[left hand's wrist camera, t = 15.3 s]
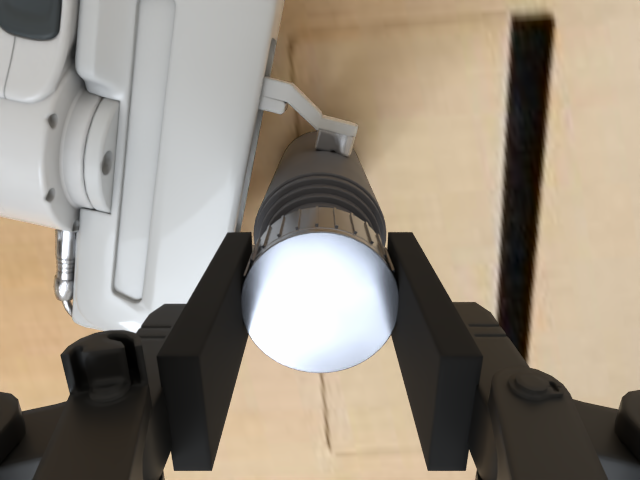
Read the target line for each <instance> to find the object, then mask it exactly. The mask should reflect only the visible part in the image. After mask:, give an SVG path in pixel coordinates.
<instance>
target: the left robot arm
mask: <svg viewBox="0 0 640 480" xmlns="http://www.w3.org/2000/svg"><path fill="white" fill-rule="evenodd" d="M387 251H388V253H389V256H390V258H391V261H392V264H393V266H394V269H395V272H394V275H395V278H396V281H397V284H398V288H399V297H398V312H397V322H396V326H395V328H394V330H393V332H392V334H391V336H392V340H393V343H394V347H395V351H396V354H397V358H398V362H399V366H400V369H401V373H402V377H403V380H404V384H405V388H406V391H407V395H408V399H409V403H410V406H411V410H412V414H413V417H414V421H415V425H416V428H417V432H418V436H419V440H420V443H421V447H422V451H423V454H424V458H425V462H426V465H427V469H428V471H466V465H467V459H468V452H469V450H470V452H471V455H472V458H473V460H474V463H475V465H476V468H477V472H476V478H475V480H640V390H636V391H631V392H628V393H627V394H626V395H625V396H623V397H622V400H621V403H620V407H619V410H618V409H613V408H609V407H604V406H599V405H594V404H590V403H585V402H581V401H578V400H574V399H572V397H571V395H570V393H569V392H568V390H567V389H566V388H565V386H564V385H563V384H562V383H561V382H559V381H558V380H556V379H555V378H554V377H552V376H551V375H548V374H546V373H544V372H542V371H539V370H537V369H533V368H530V367H529V366H528V365H527V363H526V362H525V360H524V359H523V358H522V356H521V355H520V353H519V352H518V350H517V349H516V348H515V346H514V345H513V343H512V342H511V341H510V339H509V338H508V337H506V333H505V332H504V331H503V329H502V328H501V327H499V324H498V322H497V321H496V319H495V318H494V317H493V315H492V314H491V312H489V311H488V310H486V309H485V308H483V307H482V306H480V305H479V304H477V303H476V302H452V301H451V299H450V297H449V296H448V294H447V292H446V290H445V289H444V287H443V285H442V283H441V282H440V280H439V278H438V276H437V275H436V273H435V271H434V269H433V268H432V266H431V264H430V262H429V261H428V259H427V257H426V255H425V254H424V252H423V250H422V248H421V247H420V245H419V243H418V242H417V240H416V238H415V236H414V235H413V233H412V232H388V247H387ZM251 253H252V235H251V232H227V234H226V236H225V237H224V239H223V241H222V243H221V244H220V246H219V248H218V250H217V251H216V253H215V255H214V257H213V258H212V260H211V262H210V264H209V265H208V267H207V269H206V271H205V272H204V274H203V276H202V278H201V279H200V281H199V283H198V285H197V286H196V288H195V290H194V292H193V293H192V295H191V297H190V299H189V300H188V302H187V304H163V305H162V306H160V307H159V308H157V309H156V310H154V311H153V312H151V313H150V314H149V315H148V316H147V318H146V319H145V321H144V322H143V324H142V325H141V328H139V329H138V331H137V332H136V333H134V332H130V331H126V330H108V331H103V332H98V333H94V334H91V335H89V336H86V337H84V338H81V339H79V340H78V341H76V342H74V343H73V344H71V345H70V346H68V347H67V348H66V349H65V351H64V352H63V353H62V354H61V359H62V363H63V367H64V372H65V376H66V380H67V384H68V388H69V392H70V396H69V398H68V400H67V401H66V402H62V403H58V404H55V405H50V406H45V407H41V408H36V409H31V410H27V411H21V408H20V404H19V401H18V399H17V398H16V397H14V396H13V395H12V394H9V393H3V392H0V480H165V478H164V472H163V469H164V467H165V464H166V462H167V459H168V457H169V454H170V451H171V454H172V461H173V467H174V471H212V468H213V464H214V461H215V457H216V453H217V450H218V446H219V442H220V438H221V435H222V431H223V427H224V424H225V420H226V416H227V413H228V409H229V405H230V401H231V398H232V394H233V390H234V387H235V383H236V379H237V376H238V372H239V368H240V364H241V361H242V357H243V353H244V350H245V346H246V342H247V339H248V335H249V334H248V332H247V330H246V328H245V326H244V323H243V317H242V303H241V288H242V284H243V281H244V278H243V274H244V272H245V269H246V266H247V264H248V261H249V258H250V256H251Z"/></svg>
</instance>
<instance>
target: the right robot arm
mask: <svg viewBox="0 0 640 480" xmlns="http://www.w3.org/2000/svg"><path fill="white" fill-rule="evenodd" d="M284 3H285V0H0V217H4V218H8V219H13V220H18V221H22V222H27V223H31V224H36V225H40V226H45V227H49V228H54V229H56V239H55V255H56V263H57V272H56V276H55V279H54V292H55V296H56V298H57V299H58V300H60V301H62V303H63V306H64V308H65V310H66V311H67V313H68V314H69V315H70V316H71V317H72V319H73V321H74V322H75V323H77V324H79V325H81V326H84V327H87V328H92V329H97V330H102V331H108V330H126V331H130V332H134V333H136V332H137V331H138V329H139V328H141V325H142V324H143V322H144V321H145V319H146V318H147V316H148V315H149V314H150V313H151V312H153V311H154V310H156V309H157V308H159V307H160V306H162V305H163V304H187V302H188V300H189V299H190V297H191V295H192V293H193V292H194V290H195V288H196V286H197V285H198V283H199V281H200V279H201V278H202V276H203V274H204V272H205V271H206V269H207V267H208V265H209V264H210V262H211V260H212V258H213V257H214V255H215V253H216V251H217V250H218V248H219V246H220V244H221V243H222V241H223V239H224V237H225V236H226V234H227V232H240V231H241V226H242V221H243V215H244V210H245V205H246V200H247V195H248V189H249V184H250V179H251V174H252V169H253V163H254V158H255V153H256V148H257V143H258V138H259V132H260V127H261V122H262V117H263V112H264V110H265V111H269V112H273V113H277V114H282V113H284V112H285V111H286V110H287V107H288V104H290V105H291V106H292V107H293V108H294V109H295V110H296V111H297V112H298V113H299V114H300V115H301V116H302V117H303V118H304V119H305V120H306V121H307V122H308V123H309V124H311V125H312V126H313V127H314V128H315V129H316V130H317V131H318V133H317V137H316V142H315V149H319V150H322V151H332V150H334V151H335V152H336V153H337V154H340V155H343V156H350V155H351V151H352V148H353V144H354V141H355V138H356V133H357V130H358V125H357V124H355V123H353V122H350V121H346V120H342V119H338V118H334V117H330V116H327V115H323V114H322V111H321V110H320V109H319V108H318V107H317V106H316V105H315V104H314V103H313V102H312V101H311V100H310V99H309V98H308V97H307V96H306V95H305V94H304V93H303V92H302V91H301V90H300V89H299V88H298V87H297V86H296V85H295V84H294V83H291V82H288V81H284V80H280V79H276V78H272V77H270V75H271V70H272V65H273V60H274V55H275V49H276V44H277V39H278V34H279V29H280V23H281V18H282V13H283V8H284ZM254 248H255V245H252V252H253V251H254ZM72 299H73V305H72V303H71V300H72Z"/></svg>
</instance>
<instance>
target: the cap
mask: <svg viewBox="0 0 640 480" xmlns="http://www.w3.org/2000/svg"><path fill="white" fill-rule="evenodd" d="M394 272H395V269H394V266H393V264H392V261H391V258H390V256H389V253H388V251H387V248H384V246H383V244H382V241H381V238H380V236H379V234H378V233H377V234H376V233H375V232H374V231H373V229H372V228H371V227H370V226H369V225H368V223H367V222H364V221H362V220H361V219H359V218H358V217H356V216H354V215H353V213H348V212H345V211H342V210H339V209H336V208H335V207H334V208H327V207H318V206H316V207H312V208H306V209H298V211H295V212H292V213H290V214H288V215H285V216H284V215H283V216H282V217H281V218H280V219H279V220H277V221H276V222H275V223H274V224H272V225H271V226H270V225H269V226H268V228H267V230H266V231H265V233H264V234H263V235H262V237H261V238H258V240H257V242H256V245H255V248H254V251H253V252H252V253H251V256H250V258H249V261H248V264H247V266H246V269H245V272H244V274H243V278H244V281H243V284H242V288H241V303H242V317H243V323H244V326H245V328H246V330H247V332H248V334H249V336H250V337H251V339H252V340H253V342H254V343H255V344H256V345H257V346H258V348H260V349H261V350H262V351H263V352H264V353H265V354H266V355H267V356H269V357H270V358H271V359H273V360H275V361H276V362H278V363H280V364H282V365H284V366H287V367H289V368H292V369H295V370H299V371H304V372H311V373H329V372H336V371H341V370H344V369H348V368H350V367H353V366H356V365H358V364H360V363H362V362H363V361H365V360H367V359H368V358H370V357H371V356H373V355H374V354H375V353H376V352H377V351H378V350H379V349H380V348H381V347H382V346H383V345H384V344H385V343H386V341H387V340H388V338H389V337H390V335H391V334H392V332H393V330H394V328H395V326H396V322H397V312H398V297H399V288H398V284H397V281H396V278H395V275H394Z"/></svg>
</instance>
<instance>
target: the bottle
mask: <svg viewBox="0 0 640 480" xmlns="http://www.w3.org/2000/svg"><path fill="white" fill-rule="evenodd" d="M317 133H318V131H315V132H310V133H306V134H304V135H302V136H300V137H298V138H297V139H295V140H294V141H293V142H292V143H291V144H290V145H289V146H288V148H287V149H286V150H285V152H284V154H283V156H282V159H281V161H280V163H279V165H278V168H277V170H276V172H275V175H274V177H273V179H272V181H271V184H270V186H269V188H268V190H267V193H266V195H265V197H264V200H263V202H262V204H261V206H260V209H259V211H258V214H257V217H256V220H255V225H254V244H255V245H256V242H257V240H258V238H261V237H262V235H263V234H264V233H265V231H266V230H267V228H268V226H269V225H270V226H271V225H272V224H274V223H275V222H276V221H277V220H279V219H280V218H281V217H282V216H283V215H284V216H285V215H288V214H290V213H292V212H295V211H298V209H306V208H312V207H316V206H318V207H327V208H334V207H335V208H336V209H339V210H342V211H345V212H348V213H353V215H354V216H356V217H358V218H359V219H361V220H362V221H364V222H367V223H368V225H369V226H370V227H371V228H372V229H373V231H374V232H375V233H376V234H377V233H378V234H379V236H380V238H381V241H382V244H383V246H384V248H385V243H386V225H385V220H384V217H383V214H382V211H381V209H380V207H379V204H378V202H377V200H376V198H375V195H374V193H373V191H372V188H371V186H370V184H369V182H368V179H367V177H366V175H365V173H364V170H363V168H362V166H361V163H360V161H359V159H358V157H357V154H356V152H355V151H354V149H353V148H352V151H351V155H350V156H343V155H340V154H337V153H336V152H335V151H334V150H332V151H322V150H319V149H315V142H316V137H317Z"/></svg>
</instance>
